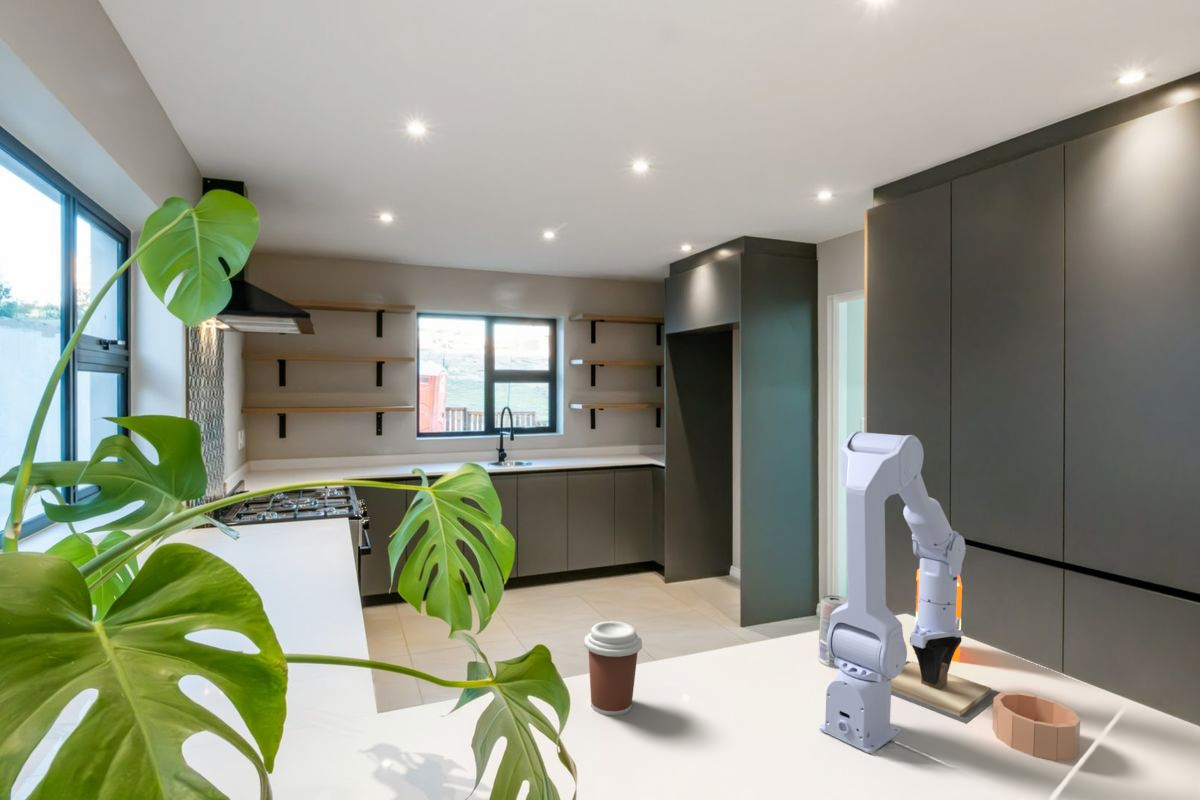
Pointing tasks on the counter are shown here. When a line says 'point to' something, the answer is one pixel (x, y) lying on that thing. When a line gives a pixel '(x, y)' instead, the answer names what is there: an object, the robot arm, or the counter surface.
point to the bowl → (1036, 726)
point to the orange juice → (958, 610)
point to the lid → (939, 689)
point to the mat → (963, 718)
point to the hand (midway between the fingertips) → (934, 679)
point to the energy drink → (827, 627)
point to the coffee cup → (612, 666)
